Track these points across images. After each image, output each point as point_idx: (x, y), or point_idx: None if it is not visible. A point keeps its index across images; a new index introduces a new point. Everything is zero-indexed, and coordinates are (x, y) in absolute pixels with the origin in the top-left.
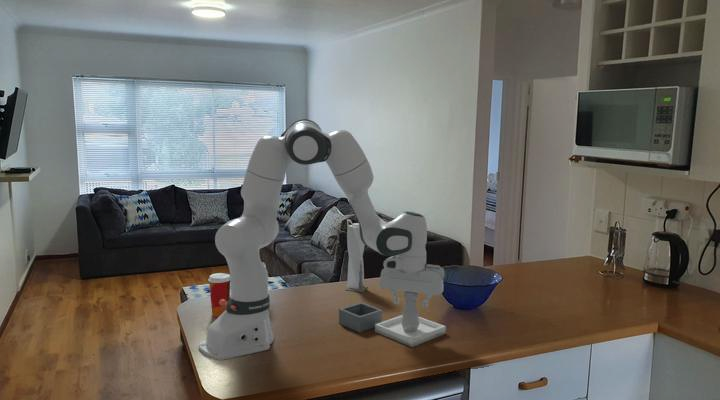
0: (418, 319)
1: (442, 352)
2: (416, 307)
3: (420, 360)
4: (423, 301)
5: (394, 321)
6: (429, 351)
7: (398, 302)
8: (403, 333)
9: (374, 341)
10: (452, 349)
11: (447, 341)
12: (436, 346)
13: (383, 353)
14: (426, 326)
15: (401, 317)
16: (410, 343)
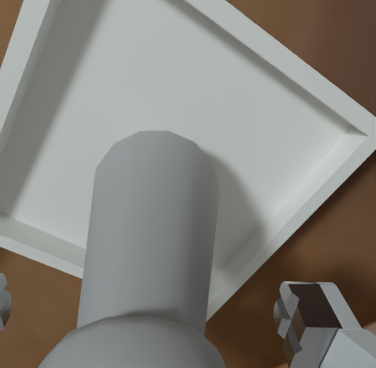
0: (216, 209)
1: None
2: (207, 277)
3: (241, 360)
4: (299, 362)
5: (21, 94)
6: (270, 306)
7: (6, 304)
8: None
9: (33, 289)
10: (365, 271)
11: (358, 207)
12: (300, 265)
13: None
14: (254, 83)
15: (44, 22)
16: None
